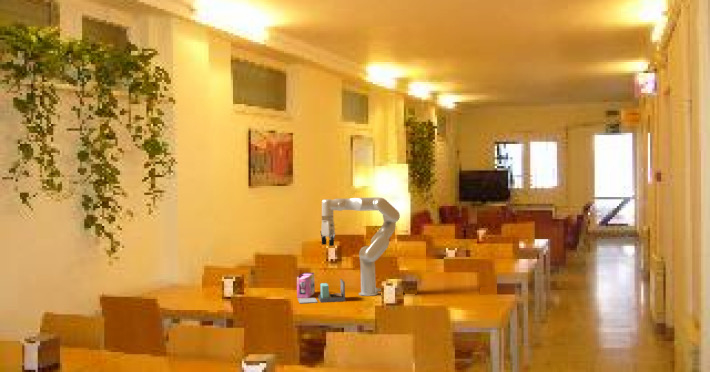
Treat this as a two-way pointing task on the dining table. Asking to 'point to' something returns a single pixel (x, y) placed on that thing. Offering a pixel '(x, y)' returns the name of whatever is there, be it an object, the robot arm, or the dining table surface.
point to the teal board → (324, 290)
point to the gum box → (305, 285)
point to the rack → (331, 296)
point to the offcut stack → (337, 295)
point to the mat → (307, 300)
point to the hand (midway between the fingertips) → (327, 245)
